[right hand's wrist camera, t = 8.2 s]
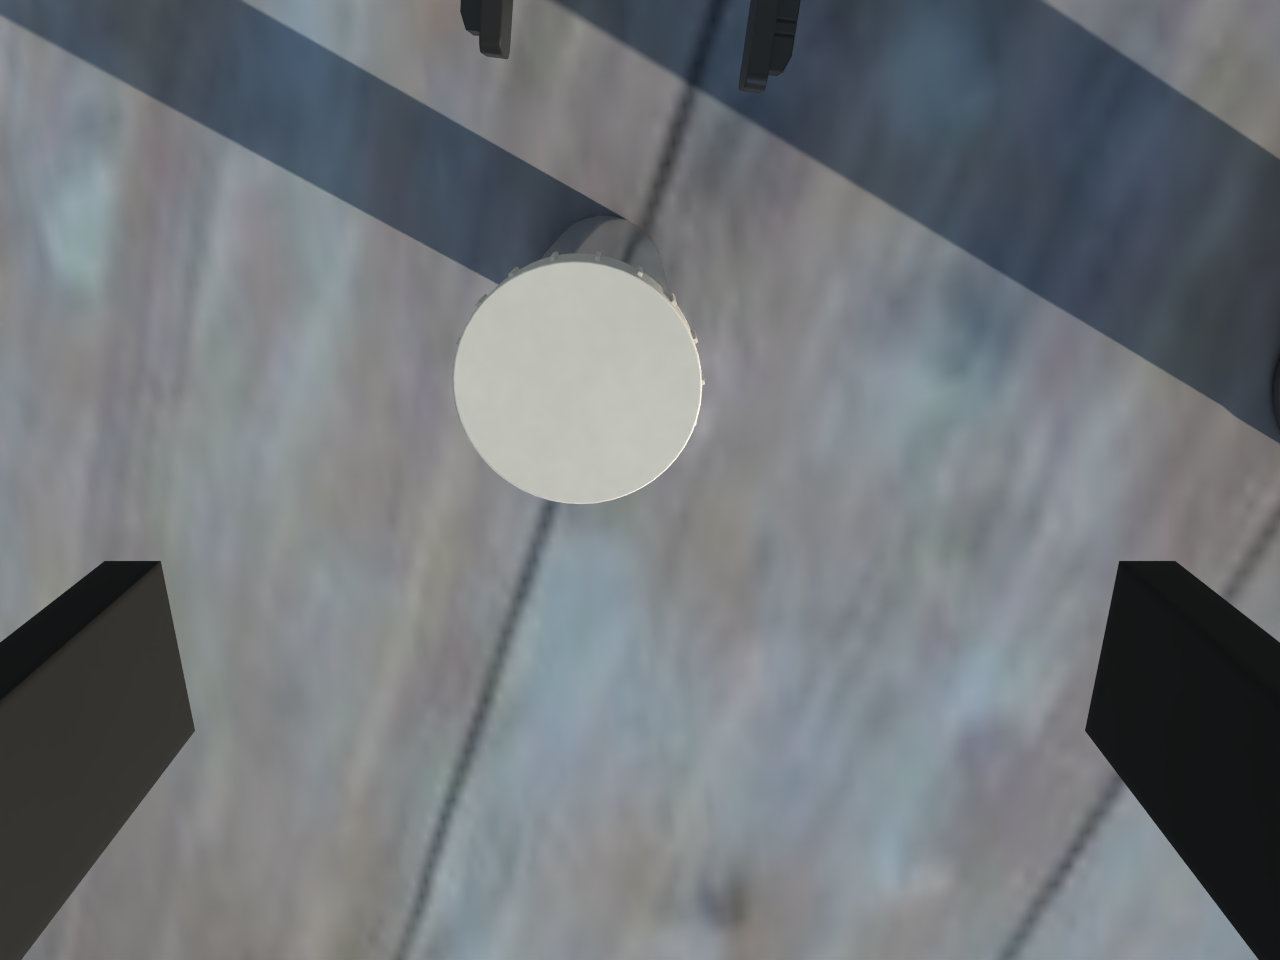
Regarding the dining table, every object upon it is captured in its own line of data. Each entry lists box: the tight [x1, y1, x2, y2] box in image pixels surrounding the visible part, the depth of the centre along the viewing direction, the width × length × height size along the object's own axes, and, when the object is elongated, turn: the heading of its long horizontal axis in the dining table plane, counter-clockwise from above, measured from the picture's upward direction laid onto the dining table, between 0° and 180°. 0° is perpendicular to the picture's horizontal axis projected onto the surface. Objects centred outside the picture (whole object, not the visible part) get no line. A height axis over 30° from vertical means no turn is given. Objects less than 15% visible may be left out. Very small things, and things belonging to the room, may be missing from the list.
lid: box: [453, 251, 704, 504], centre depth 21 cm, size 6×6×2 cm
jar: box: [539, 215, 669, 294], centre depth 30 cm, size 5×5×19 cm
